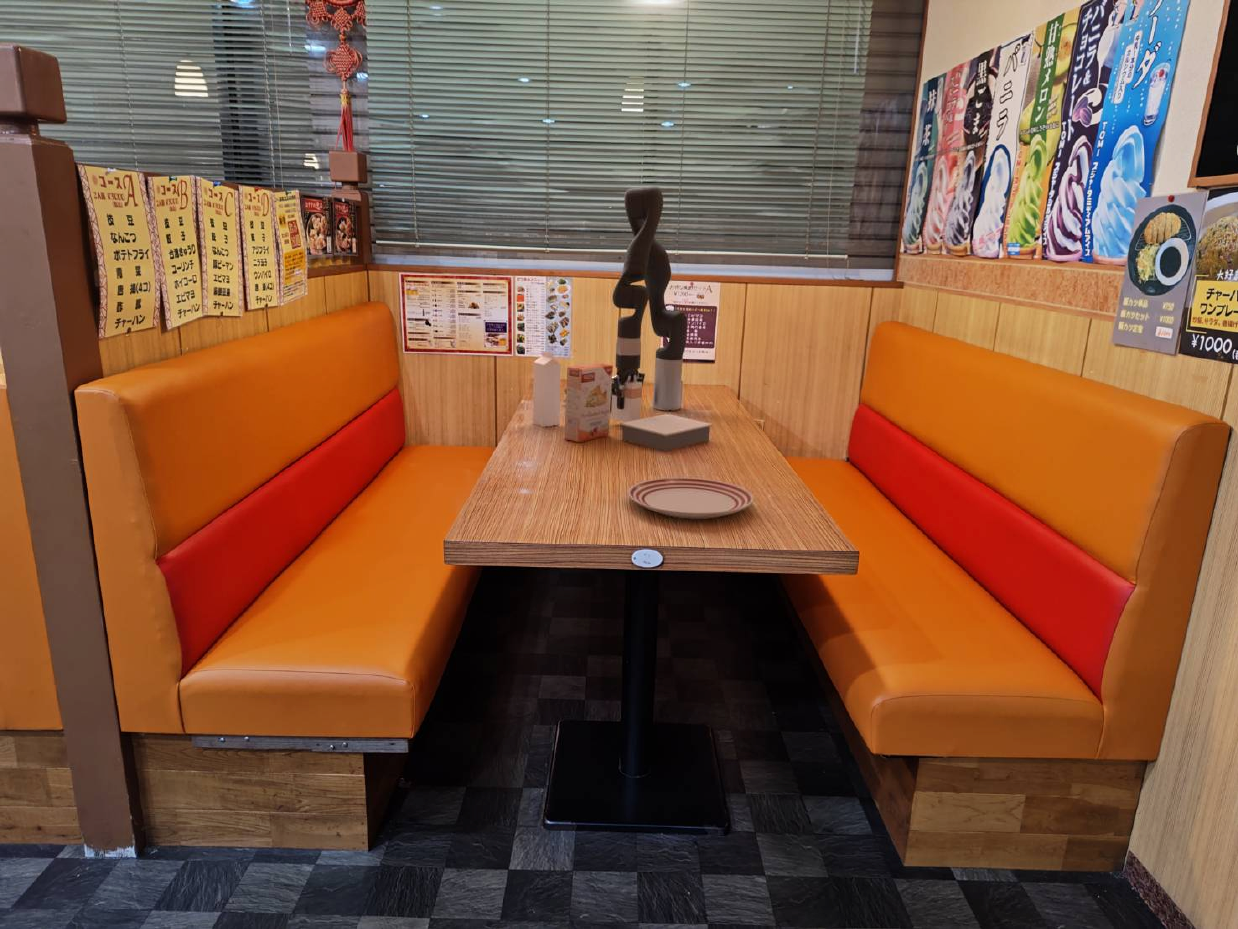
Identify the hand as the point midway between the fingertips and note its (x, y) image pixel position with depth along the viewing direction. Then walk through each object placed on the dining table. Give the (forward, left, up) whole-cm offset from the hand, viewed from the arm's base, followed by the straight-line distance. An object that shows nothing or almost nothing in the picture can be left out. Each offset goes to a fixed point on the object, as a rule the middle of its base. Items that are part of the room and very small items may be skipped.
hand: (626, 407), depth 252 cm
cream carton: (0, 0, -4) cm, 4 cm away
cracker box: (+20, +4, -6) cm, 22 cm away
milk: (+18, -16, -6) cm, 25 cm away
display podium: (+4, +20, -6) cm, 21 cm away
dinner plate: (+46, +62, -6) cm, 78 cm away
